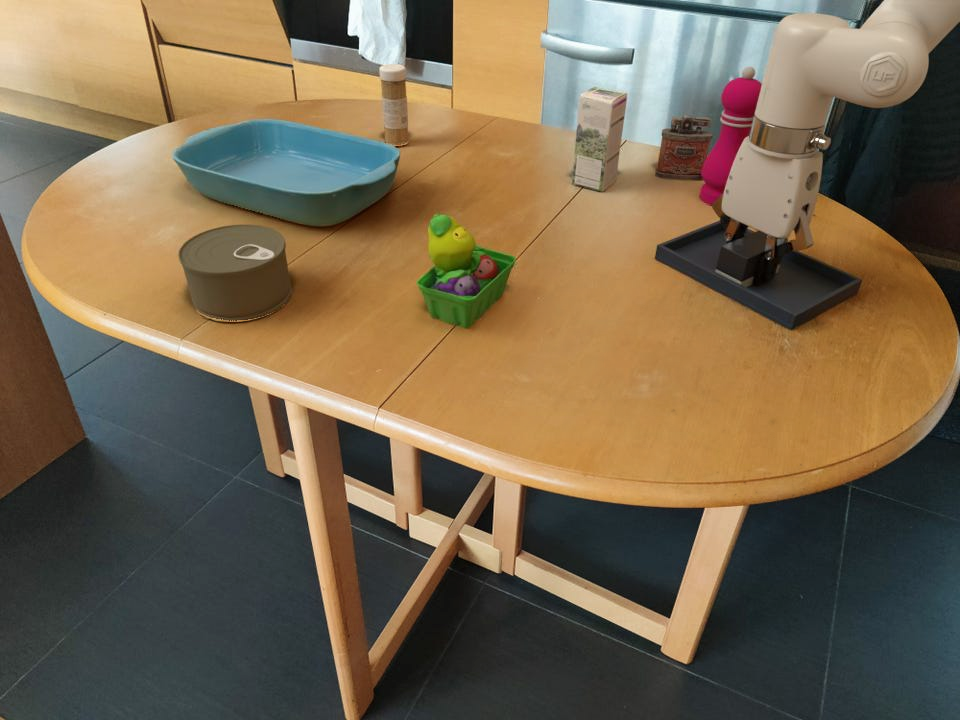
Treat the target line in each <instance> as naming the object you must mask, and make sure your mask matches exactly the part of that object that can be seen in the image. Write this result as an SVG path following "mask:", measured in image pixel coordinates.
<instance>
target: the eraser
mask: <svg viewBox="0 0 960 720" xmlns="http://www.w3.org/2000/svg"><path fill="white" fill-rule="evenodd" d="M766 235H767V234H765V233H763V232H760V231H758V230H756V231H754V233H752V234H750V235H747V236H745V237H742V238H740V239H738V240H735V241H733V242H730V243H728V244H726V245H723V246H721V250H720V254H719V258H718V263H717V267H716V271H715V272H716V273H718V274H720V275H722V276H724V277H726V278H728V279H730V280H732V281H734V282H736V283H738V284H740V285H742V286H744V287H748V286H750V285H752V284H753V283H752V282H753V278H754V275H755V271H756V268H757V264H758V261H759V258H760V257H762V256H764V255H765V246H766ZM782 257H783V255H781V256H780V259H779V263H778V266H777V269H776V273H777V272H778V270H779V267H780V263H781V260H782Z"/></svg>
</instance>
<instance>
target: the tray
mask: <svg viewBox="0 0 960 720" xmlns="http://www.w3.org/2000/svg"><path fill="white" fill-rule="evenodd" d="M754 232H755V231H754V230H752V229H750V228H747V230H746V233H745V234H744V236H747V235H750V234H752V233H754ZM724 234H725V231H724V228H723V226H722V224H721V222H720V220H717V221H715V222H712V223H708V224H707V225H704V226H702V227H700V228H697V229H695V230H692V231H689V232H687V233H684V234H681V235H679V236H677V237H674V238H671V239H669V240H666V241H664V242H662V243H659V244H656V249H655V253H654V254H655V255H654V260H656V261H658V262H660V263H662V264H664V265H666V266H668V267H670V268H671V269H673V270H675V271H677V272H679V273H681V274H683V275H684V276H686V277H688V278H691V279H692V280H694V281H696V282H698V283H700V284H702V285H704V286H706V287H707V288H710V289H711V290H713V291H714V292H717V293H719V294H721V295H722V296H724V297H726V298H728V299H730V300H732V301H734V302H736V303H738V304H740V305H741V306H743V307H745V308H747V309H749V310H751V311H753V312H754V313H756V314H759V315H760V316H763V317H764V318H766V319H768V320H770V321H772V322H774V323H776V324H778V325H779V326H782V327H784V328H785V329H787V330H789V331H793V330H795V329H797V328H799V327H800V326H802V325H804V324H806V323H807V322H809V321H811V320H813V319H815V318H816V317H819V316H820V315H822V314H824V313H826V312H828V311H830V310H831V309H832V308H833V309H834V308H835V307H836V306H839V305H840V304H842V303H844V302H846V301H847V300H849V299H852V298H853V297H856V296H857V295H858V294H859V291H860V289H861V286H862V283H863V281H864V279H862V278H861V277H858V276H856V275H854V274H851V273H850V272H847V271H844V270H843V269H840V268H837V267H835V266H833V265H831V264H829V263H827V262H824V261H822V260H820V259H818V258H815V257H813V256H811V255H809V254H806V253H804V252H801V251H800V250H799V251H792V252H788V253H786V254H784V255H783V257H782V260H781V263H780V267H779V270H778V272H777V273H775V276H774V277H773V279H772V280H770V281H768V282H766V283H764V284H762V285H759V286H755V285H753V284H752V285H750V286H748V287H744V286H742V285H740V284H738V283H736V282H734V281H732V280H730V279H728V278H726V277H724V276H722V275H720V274H718V273H716V272H715V271H716V267H717V263H718V258H719V254H720V250H721V246H723V245H726V244H727V240H726V239H725V238H724Z"/></svg>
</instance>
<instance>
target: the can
mask: <svg viewBox="0 0 960 720" xmlns="http://www.w3.org/2000/svg"><path fill="white" fill-rule="evenodd" d="M286 245H287V244H286V239H285V238H284V236H283V235H282V233H280V232H278V230H276V229H273V228H271V227H267V226H263V225H257V224H232V225H231V224H230V225H224V226H218V227H215V228H211V229H207V230H205V231H202V232H200V233H198V234H195V235H194V236H192V237H190V238H189V239H187V240H186V241H185V242H184V243H183V244H182V245H181V246H180V248H179V250H178V254H177V255H178V260H179V262H180V264H181V267H182V268H183V272H184V276H185V279H186V283H187V287H188V291H189V294H190V297H191V300H192V305H194V306H193V308H194V307H195V308H196V310H198V311H199V312H200V313H202V314H204V315H206V316H209V317H212V318H216V319H221V320H222V319H223V320H229V321H230V320H231V321H232V320H233V321H234V320H235V321H237V320H248V319H254V318H258V317H262V316H265V315H267V314H270V313H272V312H274V311H276V310H278V309H279V308H281V307H282V306H283V305H284V304H286V302H287V301H288V300H289V301H290V299H291V297H292V293H291V292H292V285H291V280H290V273H289V267H288V260H287V254H286ZM289 298H290V299H289ZM289 301H288V302H289ZM288 302H287V303H288ZM286 305H287V304H286ZM283 307H284V306H283ZM283 307H282V308H283ZM195 308H194V309H195ZM282 308H281V309H282ZM196 310H195V311H196ZM278 311H279V310H278Z"/></svg>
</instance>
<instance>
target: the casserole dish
mask: <svg viewBox="0 0 960 720" xmlns="http://www.w3.org/2000/svg"><path fill="white" fill-rule="evenodd" d="M171 156H172V159H173V161H174V162H175V163H176V165H177V166H178V168H179V169H180V171H181V172H182V174H183V175H184V177H185V178H186V180H187V181H188V183H189V184H190V185H191V186H192V187H193V189H195V190H196V191H197V192H198V193H200V194H201V195H203V196H205V197H207V198H210V199H211V200H215V201H217V202H220V203H223V202H224V203H223V204H226V203H227V204H226V205H229V204H231V205H230V206H232V205H234V206H233V207H236V206H238V207H237V208H239V207H241V208H240V209H243V208H245V209H244V210H246V209H249V210H248V211H250V210H252V211H251V212H253V211H255V213H258V212H260V213H259V214H261V213H263V214H262V215H265V214H267V215H266V216H268V215H270V216H269V217H272V216H274V217H273V218H275V217H277V218H276V219H279V218H280V220H283V219H284V221H287V222H291V223H294V224H300V225H302V226H308V227H309V226H310V227H318V228H319V227H320V228H324V227H325V228H326V227H331V226H336V225H338V224H341V223H343V222H346V221H347V220H350V219H351V218H353V217H354V216H356V215H358V214H360V213H361V212H362V211H363V210H366V209H368V208H369V207H370V206H372V205H374V204H375V203H377V202H378V201H379V200H381V199H382V198H384V197H385V196H386V195H387V194H388V193H389V191H390V190H391V188H392V187H393V184H394V181H395V178H396V174H397V171H398V168H399V164H400V163H399V162H400V159H401V151H400V149H399V148H398V147H394V146H392V145H390V144H387V143H385V141H381V140H376V139H372V138H368V137H363V136H358V135H354V134H350V133H345V132H340V131H336V130H333V129H327V128H323V127H318V126H313V125H309V124H305V123H299V122H296V121H295V122H294V121H290V120H283V119H275V118H257V119H249V120H244V121H240V122H237V123H232V124H226V125H221V126H215V127H212V128H209V129H206V130H202V131H200V132H198V133H195V134H193V135H191V136H188V137H187V138H186V139H185V140H184V143H182V144H181V145H180V146H178V147H176V148H175V149H174V150H173V152H172V153H171Z"/></svg>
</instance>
